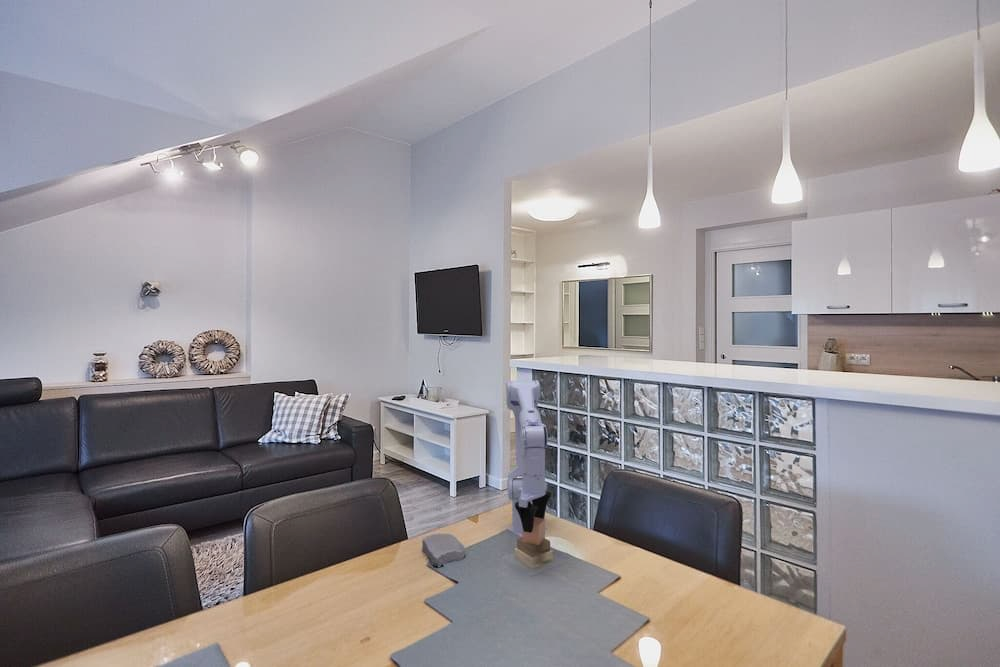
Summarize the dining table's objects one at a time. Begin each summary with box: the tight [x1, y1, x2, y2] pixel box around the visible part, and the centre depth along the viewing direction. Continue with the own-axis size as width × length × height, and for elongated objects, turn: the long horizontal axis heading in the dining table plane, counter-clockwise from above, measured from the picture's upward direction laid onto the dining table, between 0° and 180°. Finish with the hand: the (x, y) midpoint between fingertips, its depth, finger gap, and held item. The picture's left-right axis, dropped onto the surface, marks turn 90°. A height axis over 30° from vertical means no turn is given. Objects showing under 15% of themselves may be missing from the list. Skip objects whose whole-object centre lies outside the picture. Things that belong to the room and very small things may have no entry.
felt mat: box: [500, 552, 567, 577], centre depth 126 cm, size 12×12×1 cm
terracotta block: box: [522, 517, 546, 545], centre depth 126 cm, size 4×4×5 cm
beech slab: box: [513, 547, 554, 569], centre depth 126 cm, size 7×7×2 cm
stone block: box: [421, 532, 466, 567], centre depth 130 cm, size 12×5×10 cm
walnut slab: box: [516, 536, 551, 557], centre depth 126 cm, size 6×6×2 cm
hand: (533, 525), depth 126 cm, fingers open, 7 cm apart
